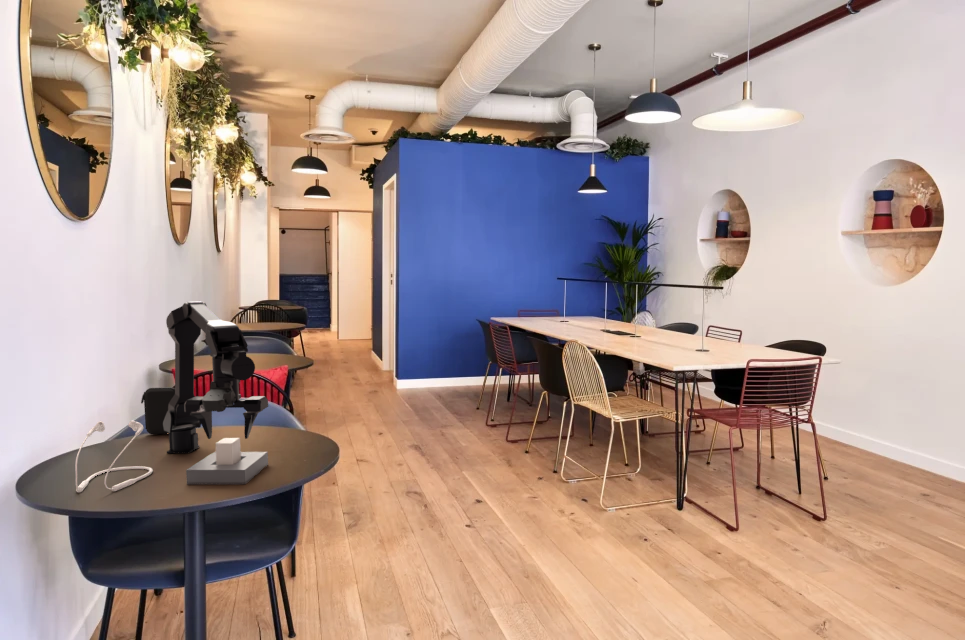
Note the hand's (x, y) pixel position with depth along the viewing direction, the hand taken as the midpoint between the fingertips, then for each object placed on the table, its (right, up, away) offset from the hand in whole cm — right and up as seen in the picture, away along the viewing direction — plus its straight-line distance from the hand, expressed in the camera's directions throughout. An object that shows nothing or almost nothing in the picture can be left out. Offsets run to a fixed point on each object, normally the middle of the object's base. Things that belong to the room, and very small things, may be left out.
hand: (228, 438), depth 157 cm
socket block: (0, -9, +1) cm, 9 cm away
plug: (0, -9, +1) cm, 9 cm away
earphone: (-26, -10, -4) cm, 28 cm away
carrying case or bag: (-37, -7, +41) cm, 55 cm away
